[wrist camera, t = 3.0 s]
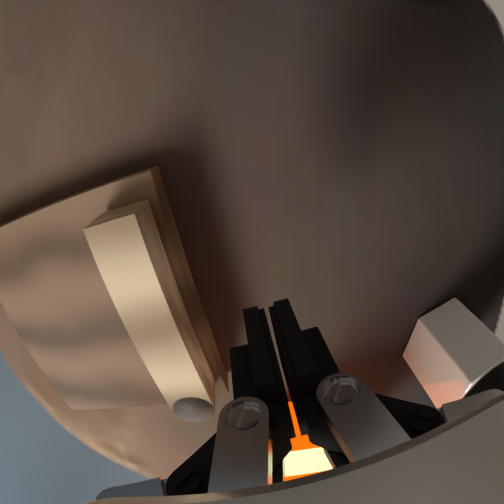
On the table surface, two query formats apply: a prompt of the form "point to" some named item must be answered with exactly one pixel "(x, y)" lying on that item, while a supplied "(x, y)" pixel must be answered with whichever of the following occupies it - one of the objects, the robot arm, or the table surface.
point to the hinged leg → (152, 307)
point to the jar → (454, 354)
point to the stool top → (90, 296)
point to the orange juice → (304, 455)
